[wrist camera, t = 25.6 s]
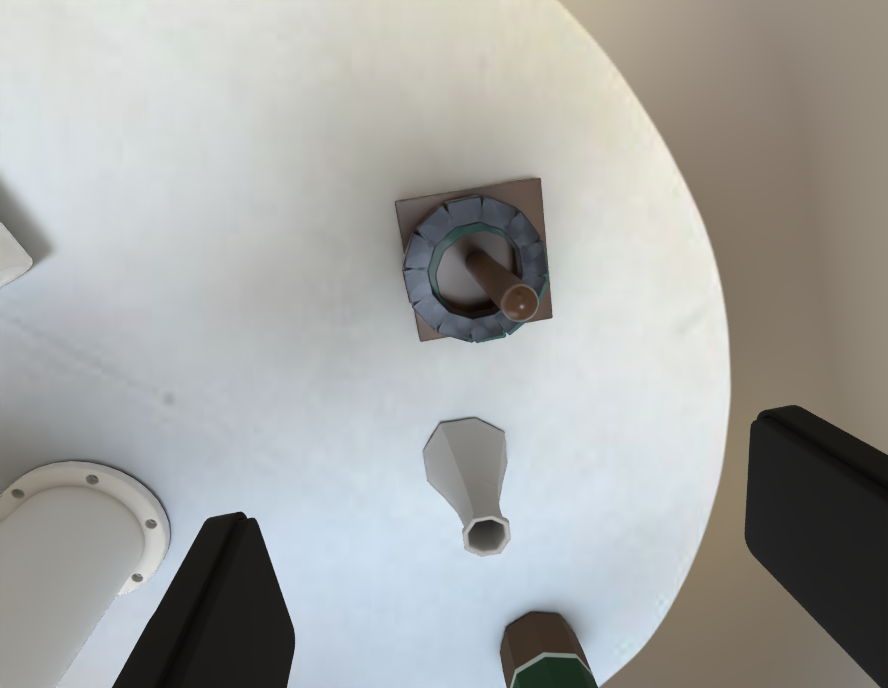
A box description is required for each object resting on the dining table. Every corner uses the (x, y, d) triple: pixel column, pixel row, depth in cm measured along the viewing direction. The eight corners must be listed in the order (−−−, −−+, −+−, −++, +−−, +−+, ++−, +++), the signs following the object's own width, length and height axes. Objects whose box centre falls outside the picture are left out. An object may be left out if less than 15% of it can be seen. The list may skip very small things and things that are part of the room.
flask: (431, 410, 40) (443, 482, 30) (516, 422, 41) (554, 495, 31) (414, 487, 42) (421, 576, 32) (496, 496, 43) (526, 586, 33)
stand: (419, 336, 37) (434, 423, 24) (394, 201, 34) (396, 214, 21) (546, 313, 38) (632, 386, 24) (534, 177, 35) (625, 175, 21)
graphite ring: (419, 345, 34) (421, 353, 33) (389, 212, 31) (389, 214, 30) (547, 318, 35) (554, 324, 33) (529, 183, 32) (536, 183, 30)
